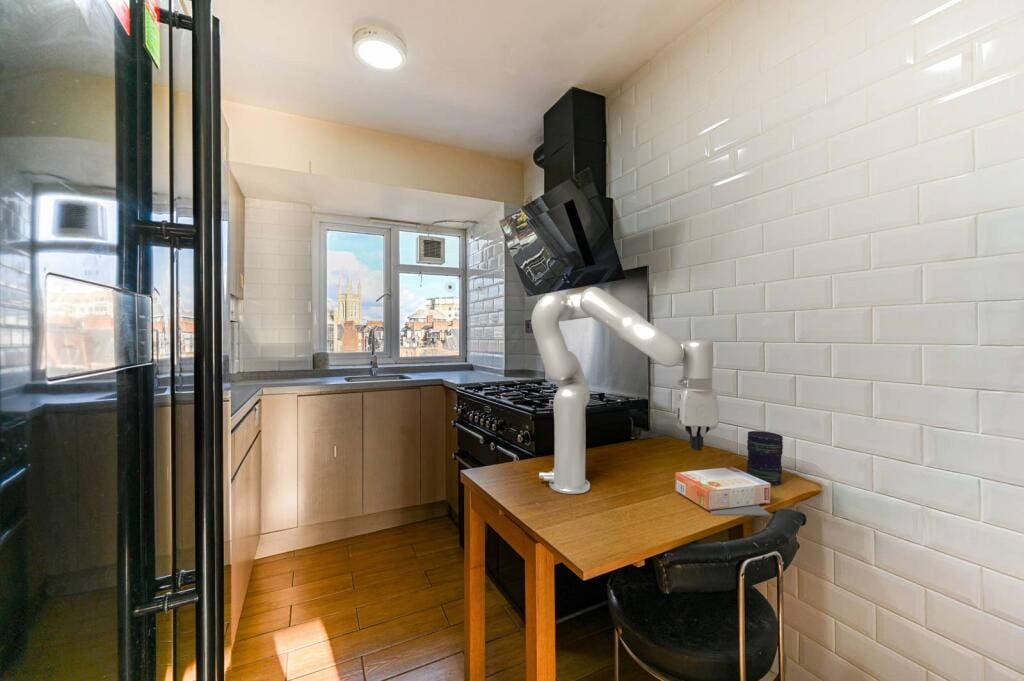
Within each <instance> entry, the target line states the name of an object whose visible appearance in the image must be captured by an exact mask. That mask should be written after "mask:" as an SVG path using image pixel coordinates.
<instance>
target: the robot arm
mask: <svg viewBox="0 0 1024 681" xmlns="http://www.w3.org/2000/svg"><path fill="white" fill-rule="evenodd" d="M588 318H592V319H593V320H595V321H596V322H598V323H599V324H601V325H602V326H604V327H605V328H606V329H607V330H609V331H611V332H612V333H614V334H615V335H617V336H618V337H619V338H621V339H622V340H624V341H626V342H628V343H629V344H631V345H632V346H633V347H635V348H636V349H638V350H639V351H640V352H642V353H644V354H645V355H646V356H648V357H649V358H650V359H652V360H654V361H655V362H656V363H658V364H660V365H661V366H663V367H667V368H671V367H677V366H678V365H679V364H682V377H681V379H678V380H677V385H679V386H681V387H680V389H679V392H678V397H677V403H676V421H677V423H676V428H677V429H680V430H684V431H686V432H687V433H688V434H689V446H690V449H692V450H693V451H696V452H702V448H703V447H704V437H705V436H706V434H707V433H708V432H709V431H711V430H716V429H717V427H718V425H719V423H720V413H719V412H720V411H719V403H718V402H719V401H718V396H717V391H716V389H713V373H714V372H713V370H714V369H713V366H714V365H713V364H714V363H713V362H714V359H713V358H714V357H713V356H714V348H713V347H714V346H713V345H714V344H713V343H712V341H710V340H708V339H707V340H706V339H688V340H679V339H674V338H672V337H671V336H670V335H668V334H666V333H665V332H663V331H662V330H660V329H659V328H657V327H656V326H654V325H653V324H651V323H650V322H648V321H647V320H646V319H645V318H644V317H643V316H642V315H640V314H639V313H638V312H637V311H635V310H634V309H632V308H631V307H628V306H627V305H626V304H624V302H623V303H622V302H621V301H620V300H618V299H617V298H616V297H614V296H613V295H611V294H609V293H608V292H606V291H605V290H603V289H601V288H600V287H597V286H590V287H588V288H586V289H585V290H584V291H582V292H578V293H572V294H562V293H559V292H550V293H548V294H546V295H543V297H541V298H540V299H539V300H538V302H537V303H536V304H535V306H534V308H533V310H532V313H531V319H530V320H531V322H530V323H531V329H532V332H533V335H534V336H533V337H534V339H535V341H536V345H537V348H538V352H539V355H540V357H541V361H542V364H543V368H544V370H545V373H546V375H547V377H548V378H549V379H550V380H552V381H554V382H556V385H557V388H558V390H557V391H556V392H555V394H554V398H553V402H552V404H553V405H552V406H553V420H554V422H553V424H554V447H553V449H554V451H553V452H554V455H553V456H554V458H553V460H554V461H553V462H554V463H553V465H554V466H553V467H554V468H552V471H548V472H545V471H539V472H538V478H539V479H543V481H544V482H545V481H547V482H548V485H549V487H550V489H551V490H553V491H555V492H558V493H561V494H567V495H578V494H579V495H580V494H584V493H587V492H588V491H589V490H590V489H591V483H590V481H588V479H586V449H587V448H586V445H587V444H586V442H587V438H586V437H587V436H586V434H587V433H586V432H587V431H586V429H587V426H586V407H587V406H588V404H589V402H590V399H591V393H590V392H591V391H590V389H589V388H590V387H588V386H589V385H588V382H587V380H586V377H585V375H584V371H583V369H582V366H581V362H580V360H579V359H578V357H577V356H576V354H575V353H573V351H571V350H569V349H568V347H567V344H566V342H565V341H566V340H565V337H564V335H563V333H562V330H561V328H560V322H566V321H573V320H581V319H588Z"/></svg>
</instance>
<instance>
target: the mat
mask: <svg viewBox="0 0 1024 681" xmlns="http://www.w3.org/2000/svg"><path fill="white" fill-rule="evenodd" d="M708 512H710V514H712V515H713V516H758V517H759V516H762V517H763V516H771V513H770V512H768V511H767V510H765V508H763V507H762V506H761V505H760V504H756V505H748V506H740V507H732V508H723V509H716V510H708Z"/></svg>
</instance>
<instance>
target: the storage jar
mask: <svg viewBox="0 0 1024 681" xmlns="http://www.w3.org/2000/svg"><path fill="white" fill-rule="evenodd" d="M783 438H784V437H783V435H780V434H778V433H775V432H771V431H770V432H769V431H761V430H760V431H759V430H752V431H751V430H750V431H748V432H747V441H746V442H747V443H746V444H747V446H746V448H747V461H746V466H745V467H746V473H747V474H750V475H752V476H754V477H756V478H759V479H761V480H763V481H766V482H768V483H770V484H771V487H780V486H781V485H782V477H783V465H782V455H783V449H784V442H783V441H784V439H783Z"/></svg>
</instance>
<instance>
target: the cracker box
mask: <svg viewBox="0 0 1024 681" xmlns="http://www.w3.org/2000/svg"><path fill="white" fill-rule="evenodd" d="M674 476H675V478H674V479H675V485H674V486H675V488H674V491H675V492H677V493H678V494H681V495H682V496H684V497H685V498H687V499H689V500H690V501H692V502H693V503H695V504H697V505H698V506H700V507H702V508H703V509H704V510H707V511H709V510H716V509H723V508H732V507H740V506H748V505H756V504H757V505H763V504H770V503H771V487H772V486H771V484H770V483H768V482H766V481H763V480H761V479H759V478H756V477H754V476H752V475H750V474H747V472H745V471H743V470H740V469H738V468H735V467H733V466H729V467H719V468H718V467H717V468H710V469H709V468H708V469H699V470H688V471H687V470H686V471H676V472H675V474H674Z"/></svg>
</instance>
